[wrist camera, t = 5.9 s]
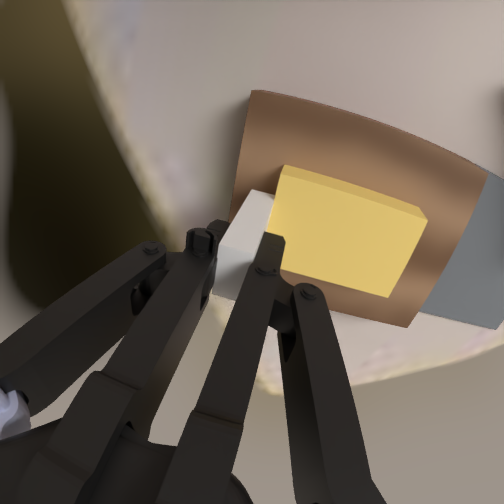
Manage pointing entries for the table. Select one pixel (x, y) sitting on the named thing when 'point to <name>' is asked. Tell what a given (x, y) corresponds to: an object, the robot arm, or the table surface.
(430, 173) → the brown wooden slab
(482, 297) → the mat
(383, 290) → the butter yellow block
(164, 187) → the table surface
